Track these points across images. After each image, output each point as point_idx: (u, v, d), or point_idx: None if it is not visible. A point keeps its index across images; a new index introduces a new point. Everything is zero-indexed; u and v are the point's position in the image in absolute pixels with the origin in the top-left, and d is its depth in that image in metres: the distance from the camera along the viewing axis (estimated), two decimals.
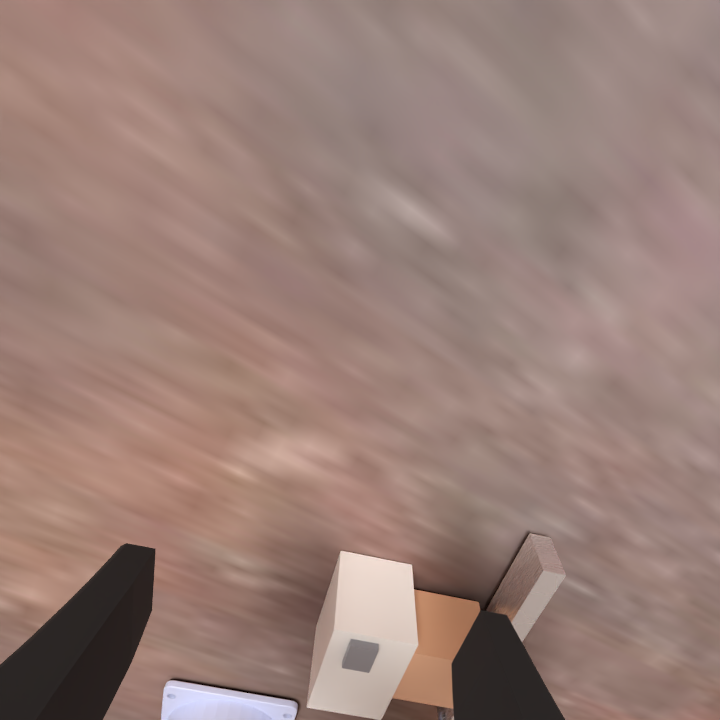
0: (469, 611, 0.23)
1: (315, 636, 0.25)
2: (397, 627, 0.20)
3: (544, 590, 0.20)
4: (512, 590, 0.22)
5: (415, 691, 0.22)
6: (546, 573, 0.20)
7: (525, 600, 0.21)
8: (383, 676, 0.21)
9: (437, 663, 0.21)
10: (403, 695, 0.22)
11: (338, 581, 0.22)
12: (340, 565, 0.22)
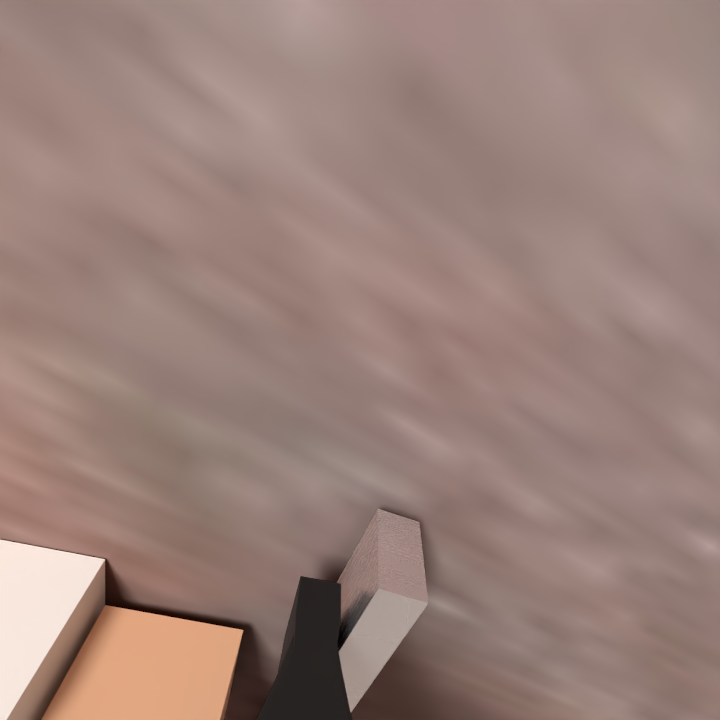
0: (213, 649, 0.12)
1: None
2: None
3: (381, 632, 0.09)
4: None
5: None
6: (385, 595, 0.09)
7: (341, 649, 0.10)
8: None
9: None
10: None
11: None
12: None
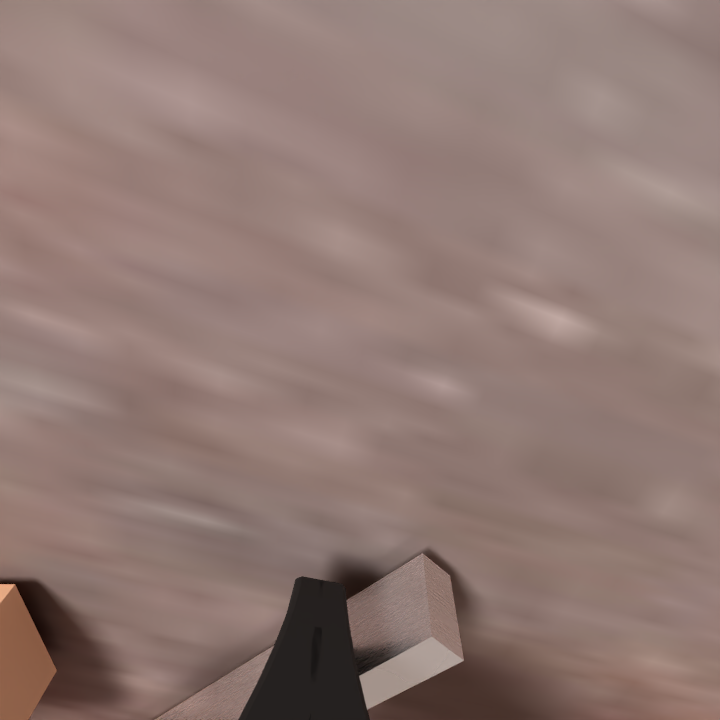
0: None
1: None
2: None
3: (405, 673, 0.10)
4: None
5: None
6: (432, 644, 0.09)
7: (360, 676, 0.10)
8: None
9: None
10: None
11: None
12: None
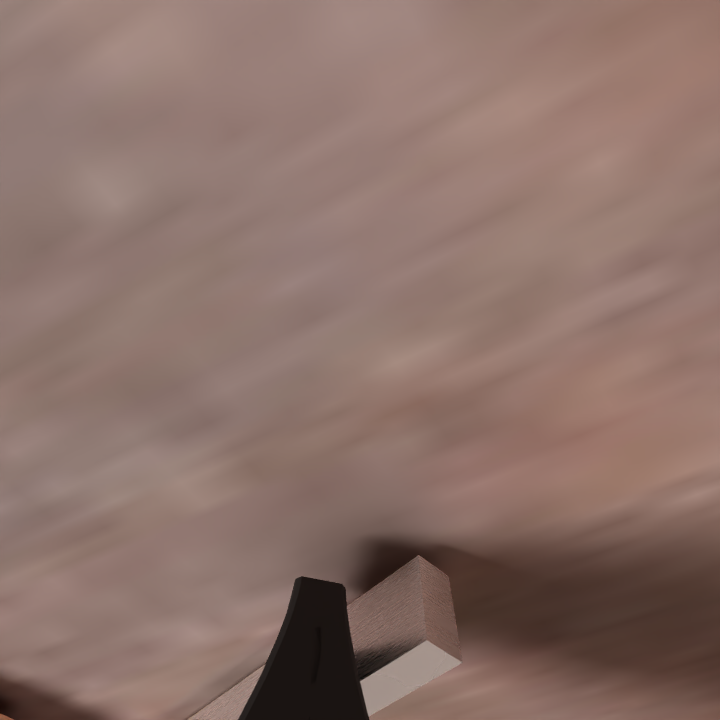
0: None
1: None
2: None
3: (405, 677, 0.10)
4: None
5: None
6: (428, 647, 0.09)
7: (360, 682, 0.10)
8: None
9: None
10: None
11: None
12: None
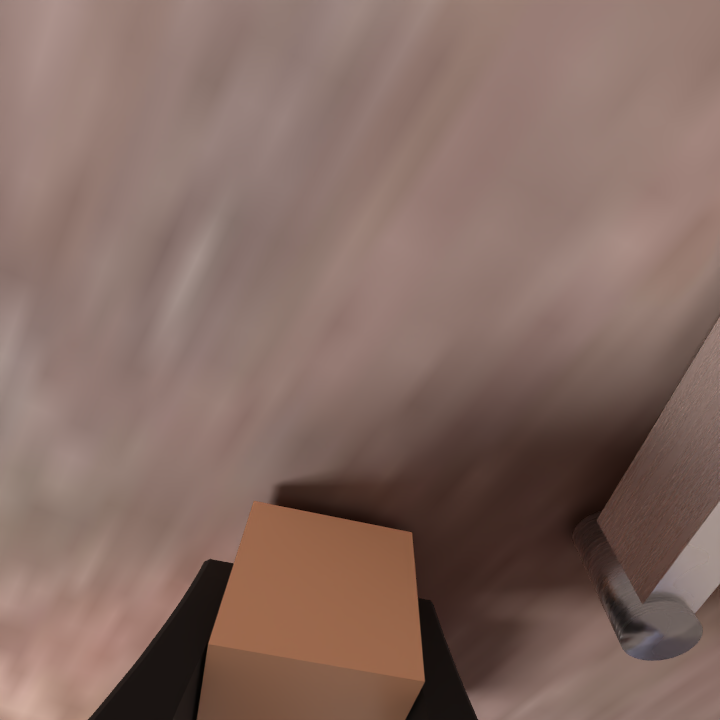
0: None
1: None
2: None
3: None
4: None
5: None
6: None
7: None
8: None
9: None
10: None
11: None
12: None
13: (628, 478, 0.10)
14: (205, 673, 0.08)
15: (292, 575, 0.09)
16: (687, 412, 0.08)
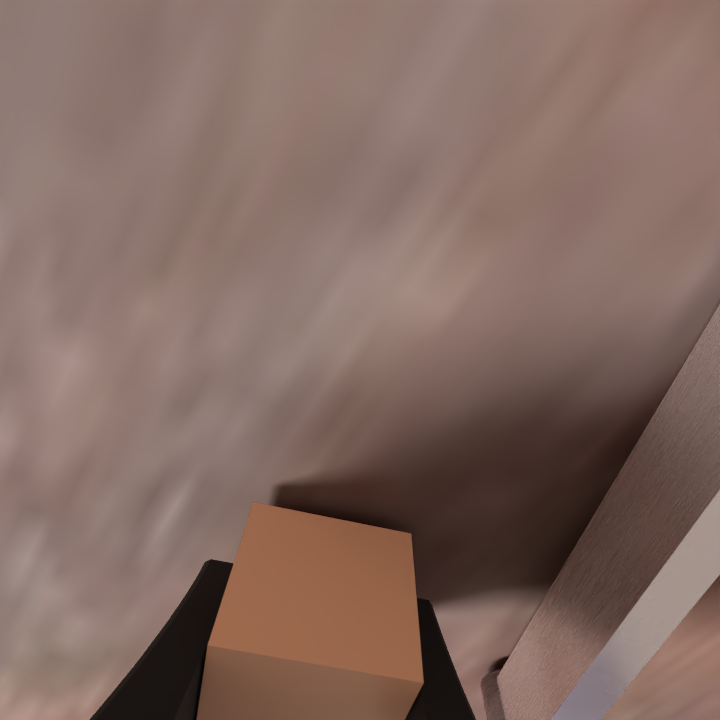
0: None
1: None
2: None
3: None
4: (717, 395, 0.08)
5: None
6: None
7: None
8: None
9: None
10: None
11: None
12: None
13: (515, 654, 0.12)
14: (205, 674, 0.08)
15: (291, 577, 0.09)
16: (548, 622, 0.11)
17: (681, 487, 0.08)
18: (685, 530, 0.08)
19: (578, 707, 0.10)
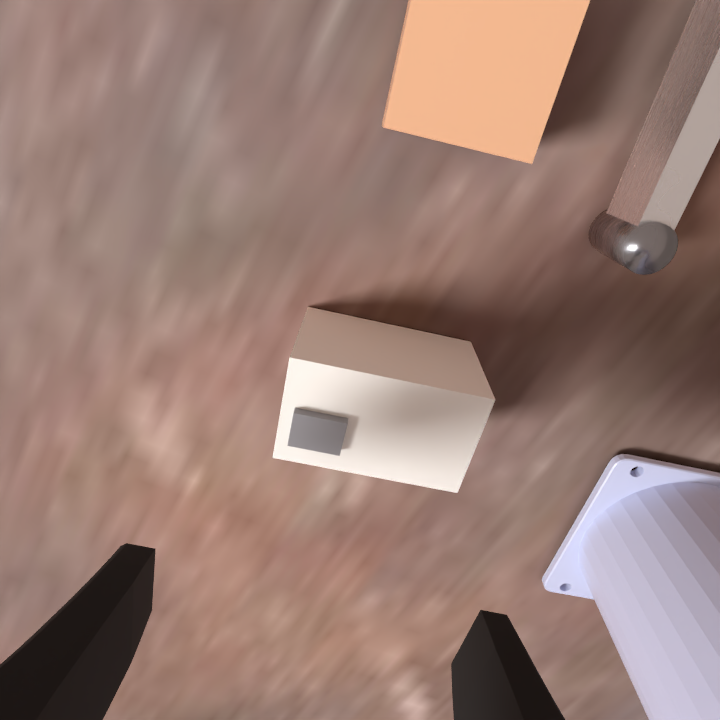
0: None
1: None
2: None
3: None
4: None
5: (510, 113, 0.11)
6: None
7: None
8: (372, 399, 0.14)
9: (414, 73, 0.11)
10: (522, 138, 0.11)
11: None
12: None
13: (627, 167, 0.14)
14: None
15: None
16: (665, 95, 0.13)
17: None
18: None
19: (702, 120, 0.12)
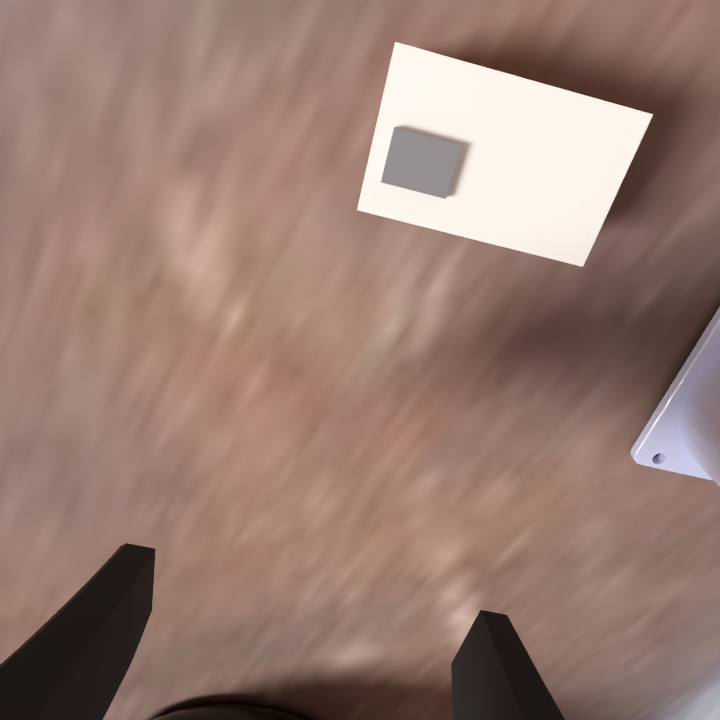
0: None
1: None
2: (384, 88, 0.11)
3: None
4: None
5: None
6: None
7: None
8: (495, 113, 0.11)
9: None
10: None
11: None
12: (361, 190, 0.15)
13: None
14: None
15: None
16: None
17: None
18: None
19: None
